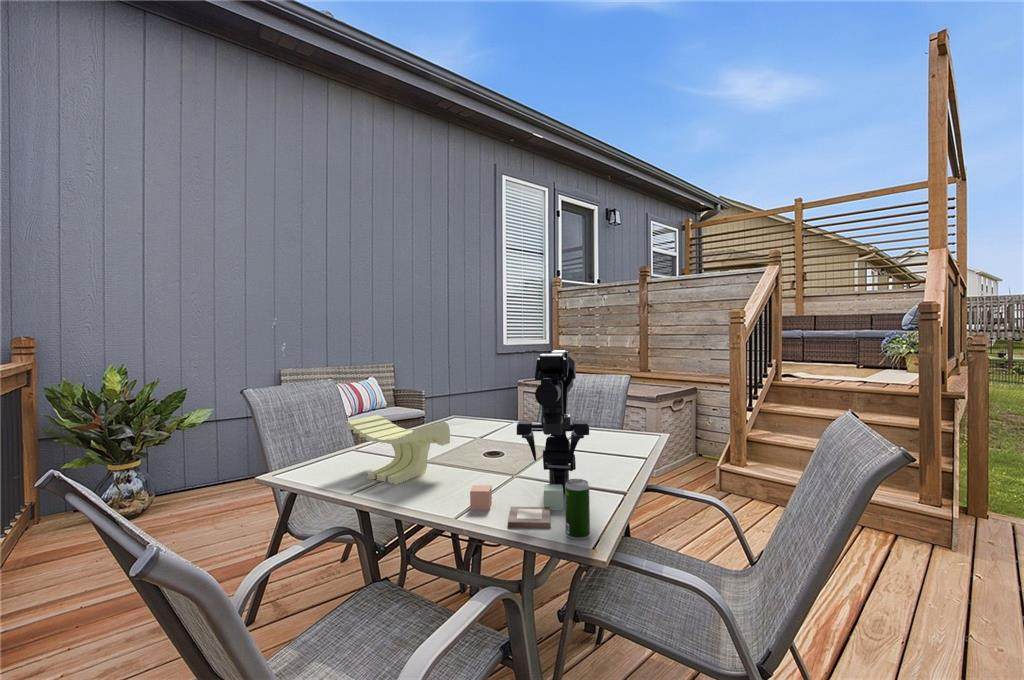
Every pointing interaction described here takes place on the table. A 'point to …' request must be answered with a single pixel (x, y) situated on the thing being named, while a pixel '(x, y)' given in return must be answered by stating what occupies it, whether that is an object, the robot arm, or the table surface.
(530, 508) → the tower base
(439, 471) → the table surface
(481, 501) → the dusty pink cube
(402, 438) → the slatted curved stool
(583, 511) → the beer can
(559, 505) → the brick sage
